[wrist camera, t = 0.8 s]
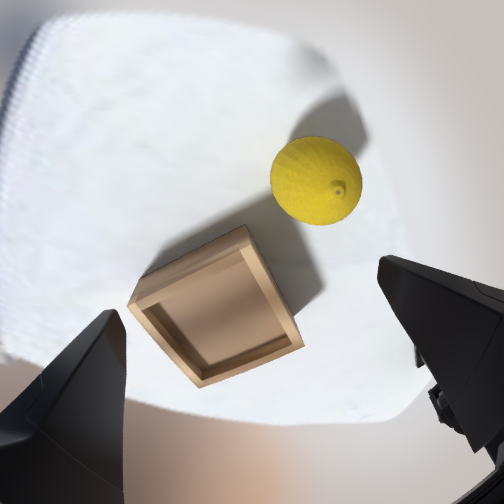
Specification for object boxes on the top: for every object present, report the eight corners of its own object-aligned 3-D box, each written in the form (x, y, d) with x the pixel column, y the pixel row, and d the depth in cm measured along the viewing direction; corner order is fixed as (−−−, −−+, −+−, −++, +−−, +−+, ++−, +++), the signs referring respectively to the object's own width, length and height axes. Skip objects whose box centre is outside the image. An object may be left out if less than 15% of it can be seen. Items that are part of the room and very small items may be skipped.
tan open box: (293, 316, 27) (304, 346, 23) (200, 357, 28) (198, 388, 24) (245, 224, 23) (250, 244, 19) (139, 279, 24) (126, 306, 20)
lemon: (319, 126, 20) (369, 126, 13) (340, 191, 22) (392, 222, 15) (251, 150, 20) (268, 159, 13) (276, 216, 23) (304, 259, 15)
